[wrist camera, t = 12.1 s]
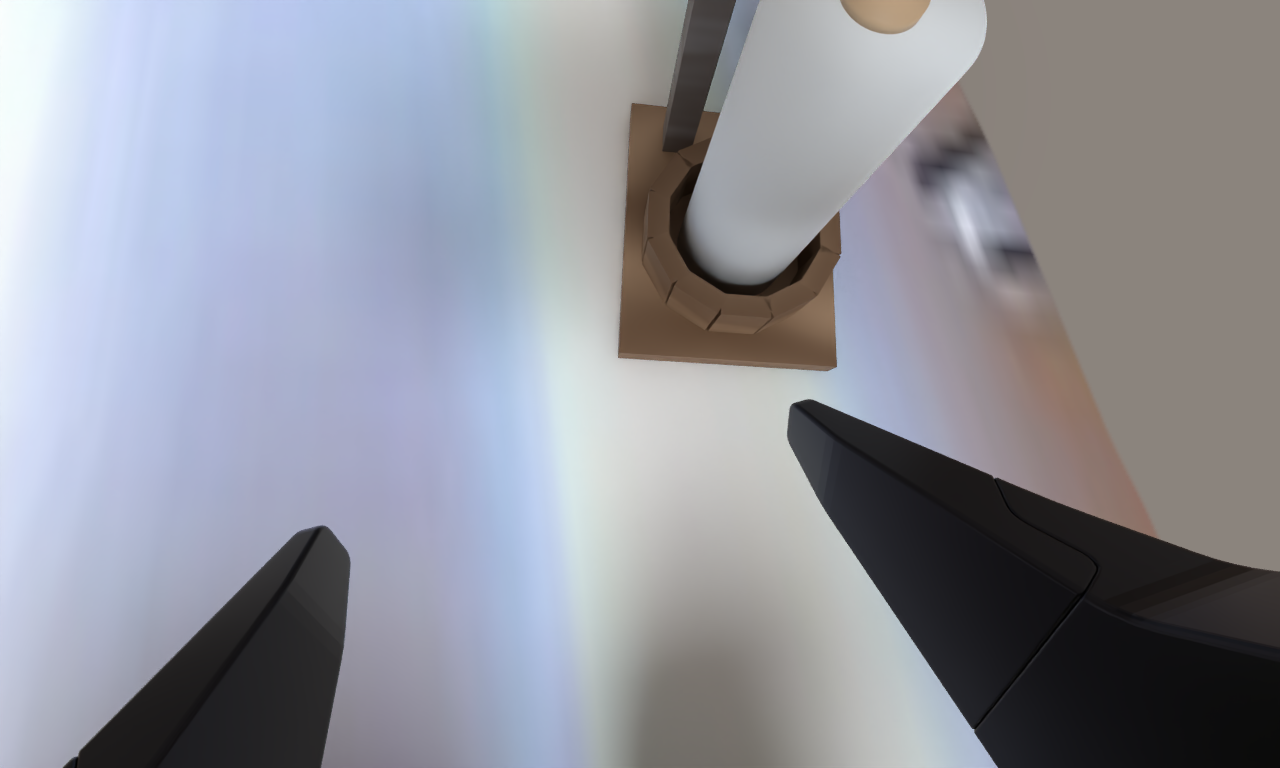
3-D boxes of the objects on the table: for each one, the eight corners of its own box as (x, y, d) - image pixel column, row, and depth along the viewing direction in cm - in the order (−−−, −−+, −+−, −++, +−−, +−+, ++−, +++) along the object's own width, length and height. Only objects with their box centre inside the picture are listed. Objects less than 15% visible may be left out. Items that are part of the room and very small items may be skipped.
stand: (827, 371, 25) (1130, 236, 11) (618, 357, 24) (652, 191, 10) (818, 137, 27) (1051, -213, 13) (630, 117, 26) (671, -283, 12)
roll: (803, 267, 24) (1040, 28, 11) (716, 319, 23) (870, 122, 10) (742, 183, 25) (903, -134, 12) (656, 230, 24) (730, -61, 11)
